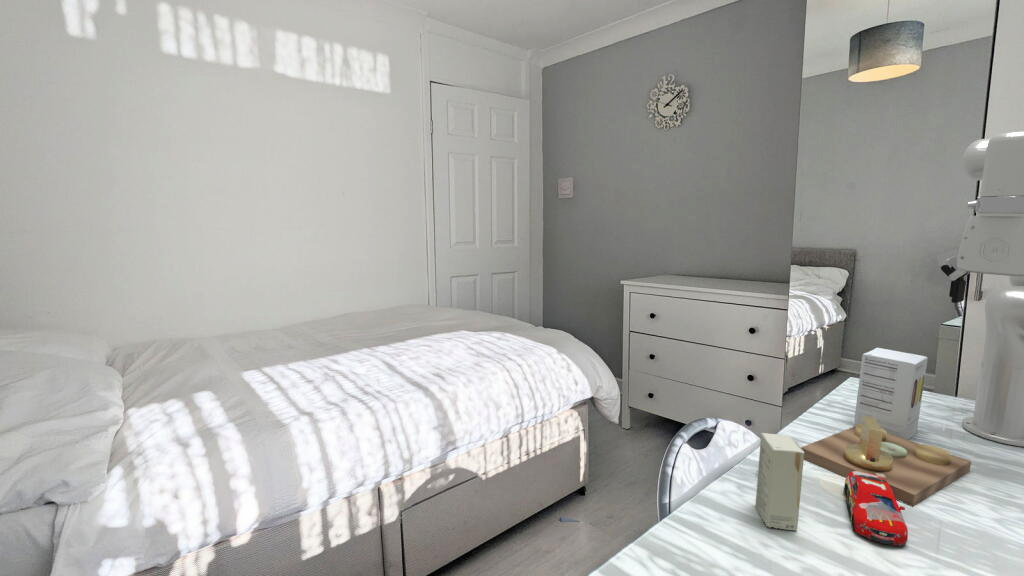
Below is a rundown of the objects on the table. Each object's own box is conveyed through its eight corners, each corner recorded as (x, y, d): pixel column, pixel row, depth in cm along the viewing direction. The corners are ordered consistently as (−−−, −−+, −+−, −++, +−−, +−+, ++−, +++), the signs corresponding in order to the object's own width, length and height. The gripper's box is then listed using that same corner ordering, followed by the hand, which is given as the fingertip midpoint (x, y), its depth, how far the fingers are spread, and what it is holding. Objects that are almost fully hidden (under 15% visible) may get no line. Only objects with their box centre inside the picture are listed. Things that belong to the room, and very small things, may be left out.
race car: (910, 557, 67) (915, 524, 66) (851, 541, 70) (855, 509, 70) (890, 497, 81) (894, 469, 80) (841, 486, 84) (845, 459, 84)
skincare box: (798, 532, 72) (806, 453, 70) (765, 528, 73) (773, 450, 71) (783, 506, 78) (791, 434, 76) (753, 503, 79) (760, 431, 77)
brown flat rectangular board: (860, 432, 105) (862, 417, 104) (969, 471, 89) (972, 453, 89) (799, 457, 94) (801, 440, 93) (912, 506, 78) (915, 486, 78)
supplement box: (904, 444, 99) (916, 364, 97) (851, 429, 107) (861, 353, 104) (918, 432, 105) (929, 355, 103) (867, 417, 112) (876, 346, 110)
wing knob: (841, 448, 93) (845, 412, 92) (886, 456, 90) (891, 419, 89) (847, 465, 87) (852, 427, 86) (896, 474, 84) (902, 435, 82)
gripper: (935, 207, 89) (922, 300, 92) (1076, 207, 74) (1055, 318, 77) (953, 207, 93) (940, 297, 96) (1090, 207, 78) (1071, 313, 81)
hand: (992, 306), depth 86 cm, fingers open, 9 cm apart
